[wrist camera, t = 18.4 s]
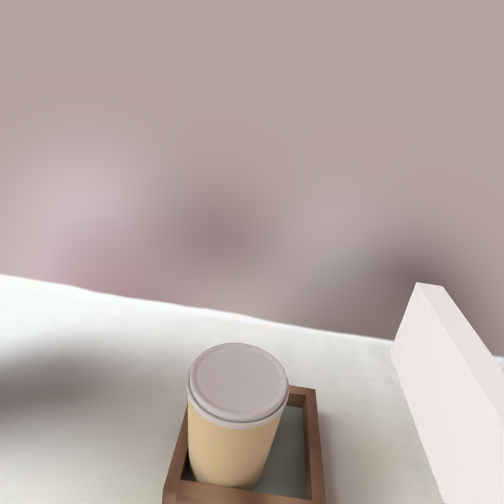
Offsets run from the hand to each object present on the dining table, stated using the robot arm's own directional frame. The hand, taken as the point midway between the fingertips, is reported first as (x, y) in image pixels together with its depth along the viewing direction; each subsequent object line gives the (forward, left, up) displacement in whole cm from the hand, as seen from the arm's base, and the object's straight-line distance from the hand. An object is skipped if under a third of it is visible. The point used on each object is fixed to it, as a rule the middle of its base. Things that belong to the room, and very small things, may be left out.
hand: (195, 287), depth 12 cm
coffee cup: (+2, +16, -31) cm, 35 cm away
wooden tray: (+4, +18, -34) cm, 39 cm away
